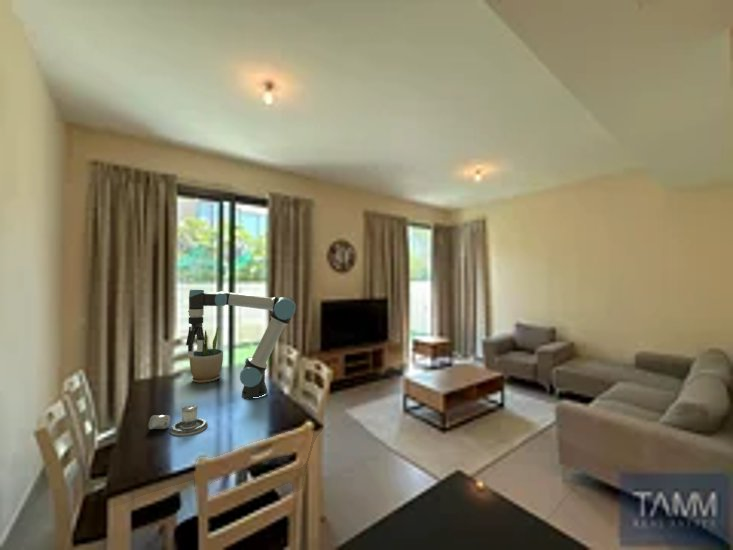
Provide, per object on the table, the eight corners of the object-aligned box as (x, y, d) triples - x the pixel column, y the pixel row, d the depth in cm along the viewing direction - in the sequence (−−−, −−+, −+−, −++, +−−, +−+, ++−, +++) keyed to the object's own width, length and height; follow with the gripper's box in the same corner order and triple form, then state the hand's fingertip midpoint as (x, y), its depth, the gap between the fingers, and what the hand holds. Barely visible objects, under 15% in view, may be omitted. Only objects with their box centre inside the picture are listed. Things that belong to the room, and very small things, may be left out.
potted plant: (187, 386, 226) (188, 325, 226) (189, 377, 245) (191, 320, 245) (222, 383, 234) (223, 323, 234) (221, 374, 254) (223, 319, 254)
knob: (193, 422, 171) (194, 404, 171) (200, 426, 166) (200, 407, 166) (178, 426, 165) (178, 408, 165) (184, 431, 161) (185, 412, 161)
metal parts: (212, 421, 174) (212, 408, 174) (199, 436, 158) (200, 422, 158) (160, 421, 172) (160, 409, 172) (142, 436, 156) (142, 423, 156)
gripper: (197, 313, 207) (196, 349, 207) (179, 319, 182) (178, 359, 182) (210, 313, 208) (209, 349, 208) (194, 319, 183) (193, 359, 183)
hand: (195, 354), depth 195 cm, fingers open, 13 cm apart
